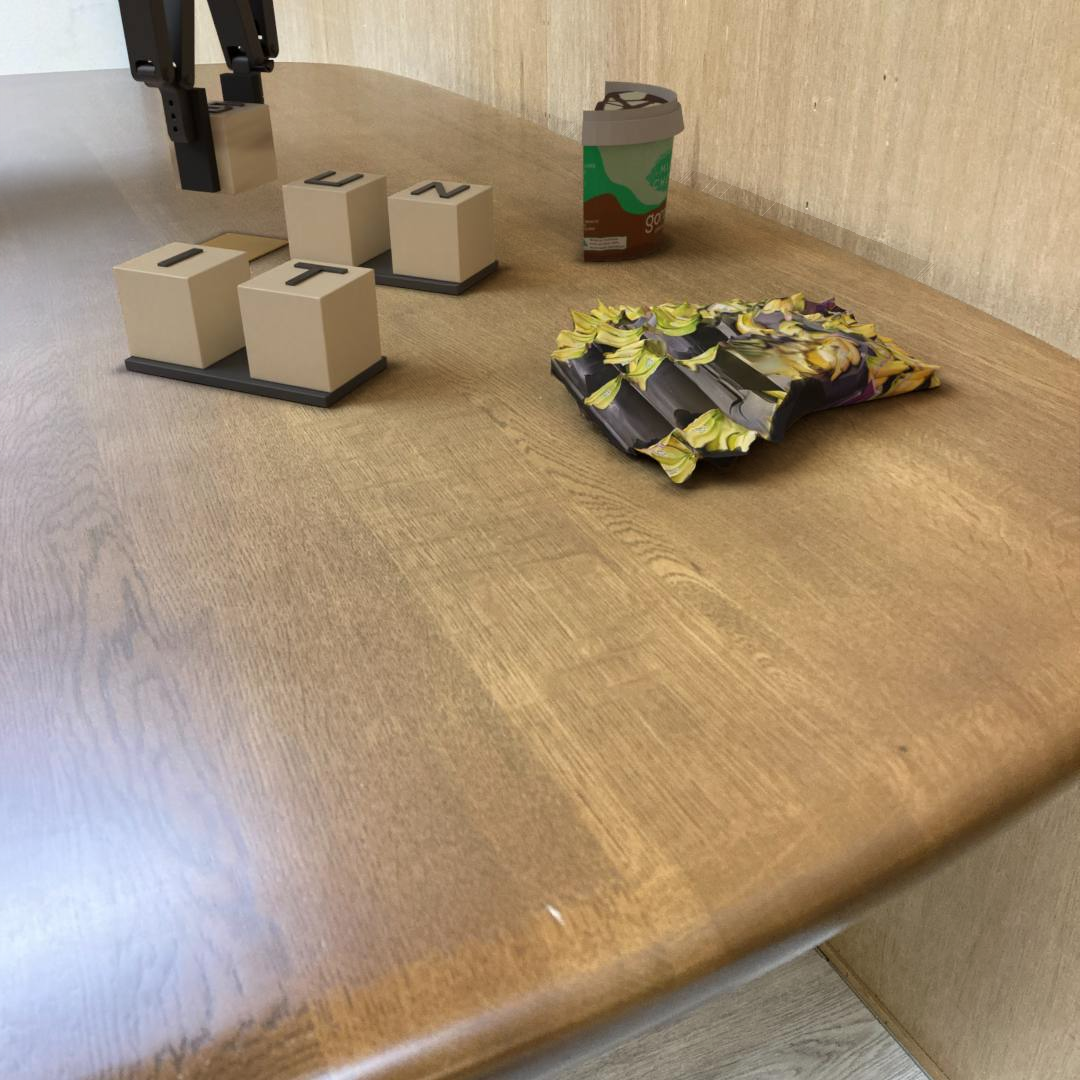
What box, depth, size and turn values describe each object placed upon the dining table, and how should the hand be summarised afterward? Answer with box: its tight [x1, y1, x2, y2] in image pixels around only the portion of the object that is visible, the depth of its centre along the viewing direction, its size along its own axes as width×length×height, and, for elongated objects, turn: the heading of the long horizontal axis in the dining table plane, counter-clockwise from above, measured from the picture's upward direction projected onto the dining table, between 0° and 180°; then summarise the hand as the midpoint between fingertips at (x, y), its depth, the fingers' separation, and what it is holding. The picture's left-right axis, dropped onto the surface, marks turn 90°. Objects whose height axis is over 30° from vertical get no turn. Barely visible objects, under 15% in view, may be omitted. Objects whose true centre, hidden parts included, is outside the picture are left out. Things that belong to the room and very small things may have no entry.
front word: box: [112, 241, 388, 408], centre depth 61 cm, size 13×6×6 cm, turn 66°
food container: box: [581, 80, 685, 262], centre depth 79 cm, size 12×6×10 cm, turn 170°
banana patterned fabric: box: [549, 292, 941, 484], centre depth 58 cm, size 20×16×7 cm
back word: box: [199, 168, 499, 296], centre depth 77 cm, size 22×6×6 cm, turn 66°
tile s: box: [162, 99, 279, 196], centre depth 78 cm, size 5×5×5 cm
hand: (227, 179), depth 79 cm, fingers closed on tile s, 5 cm apart
